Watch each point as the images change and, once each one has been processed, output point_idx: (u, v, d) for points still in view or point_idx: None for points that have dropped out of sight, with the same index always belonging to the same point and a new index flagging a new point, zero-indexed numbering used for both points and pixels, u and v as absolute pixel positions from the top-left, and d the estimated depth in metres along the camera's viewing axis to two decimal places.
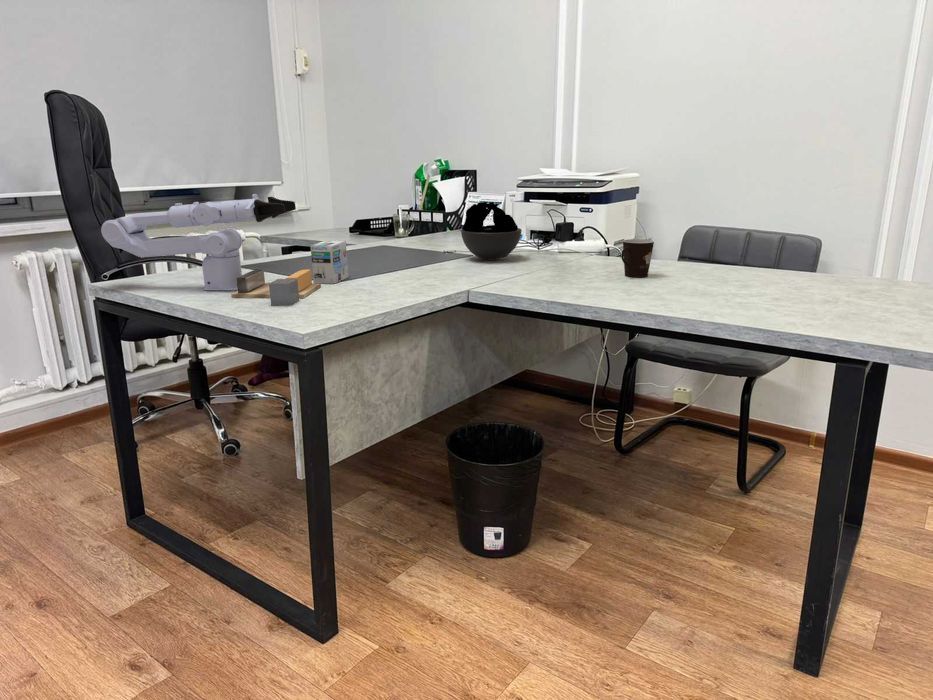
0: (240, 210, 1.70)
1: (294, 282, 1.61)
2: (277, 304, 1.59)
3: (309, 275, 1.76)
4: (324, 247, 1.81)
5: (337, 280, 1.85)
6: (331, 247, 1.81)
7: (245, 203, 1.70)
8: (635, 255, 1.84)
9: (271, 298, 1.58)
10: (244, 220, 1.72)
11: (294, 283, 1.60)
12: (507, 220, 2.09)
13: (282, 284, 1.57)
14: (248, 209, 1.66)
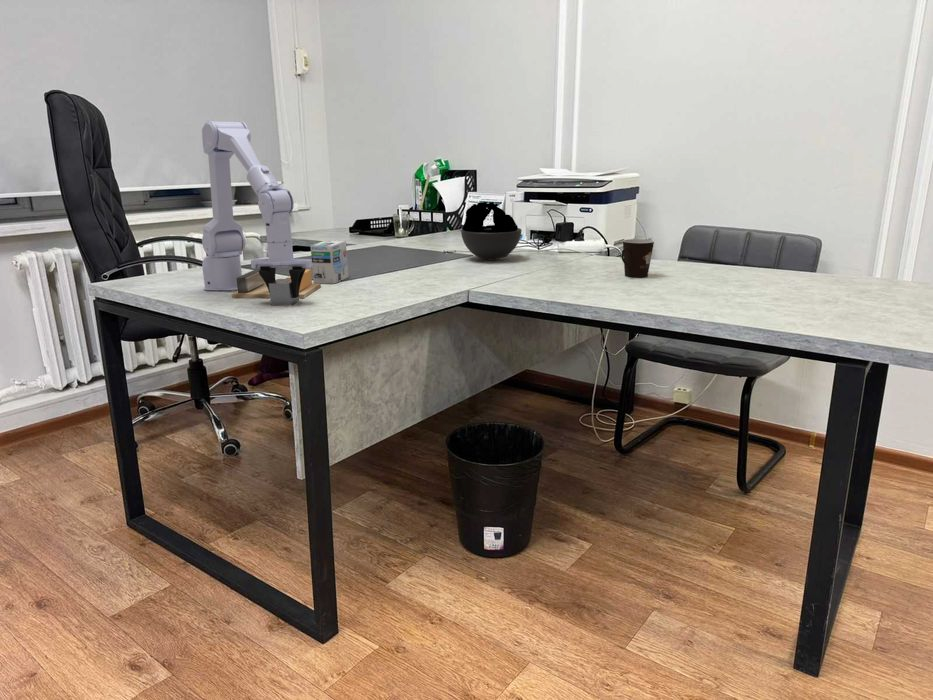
0: None
1: None
2: (277, 304, 1.59)
3: (309, 275, 1.76)
4: (324, 247, 1.81)
5: (337, 280, 1.85)
6: (331, 247, 1.81)
7: (269, 253, 1.56)
8: (635, 255, 1.84)
9: (271, 298, 1.58)
10: None
11: None
12: (507, 220, 2.09)
13: (282, 284, 1.57)
14: None
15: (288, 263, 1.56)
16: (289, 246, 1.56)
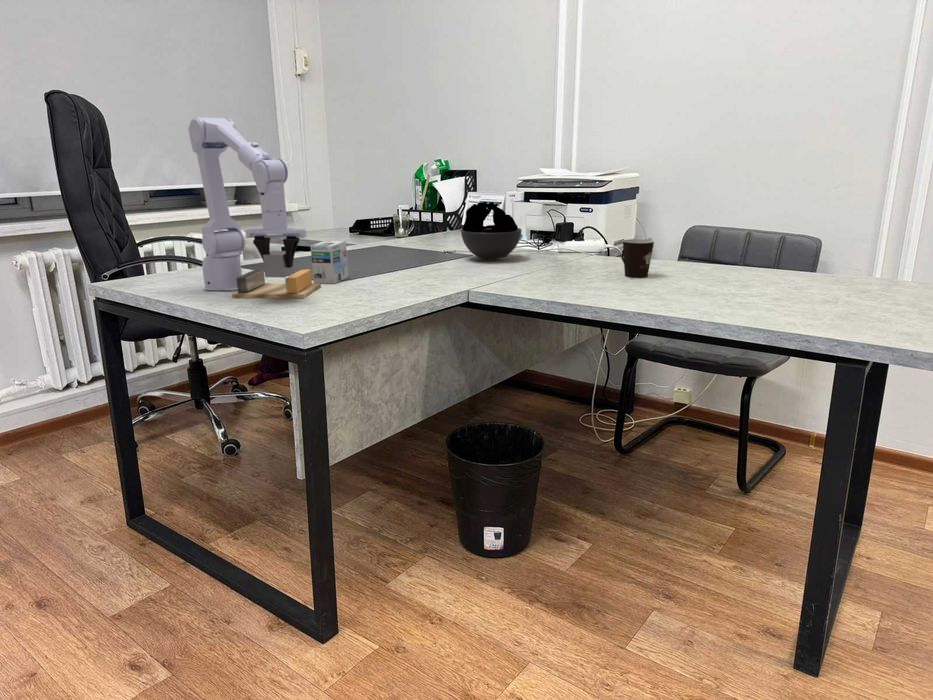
0: None
1: None
2: (271, 275, 1.60)
3: (309, 275, 1.76)
4: (324, 247, 1.81)
5: (337, 280, 1.85)
6: (331, 247, 1.81)
7: (263, 223, 1.58)
8: (635, 255, 1.84)
9: (265, 269, 1.60)
10: None
11: None
12: (507, 220, 2.09)
13: (276, 255, 1.59)
14: None
15: (282, 232, 1.58)
16: (283, 215, 1.58)
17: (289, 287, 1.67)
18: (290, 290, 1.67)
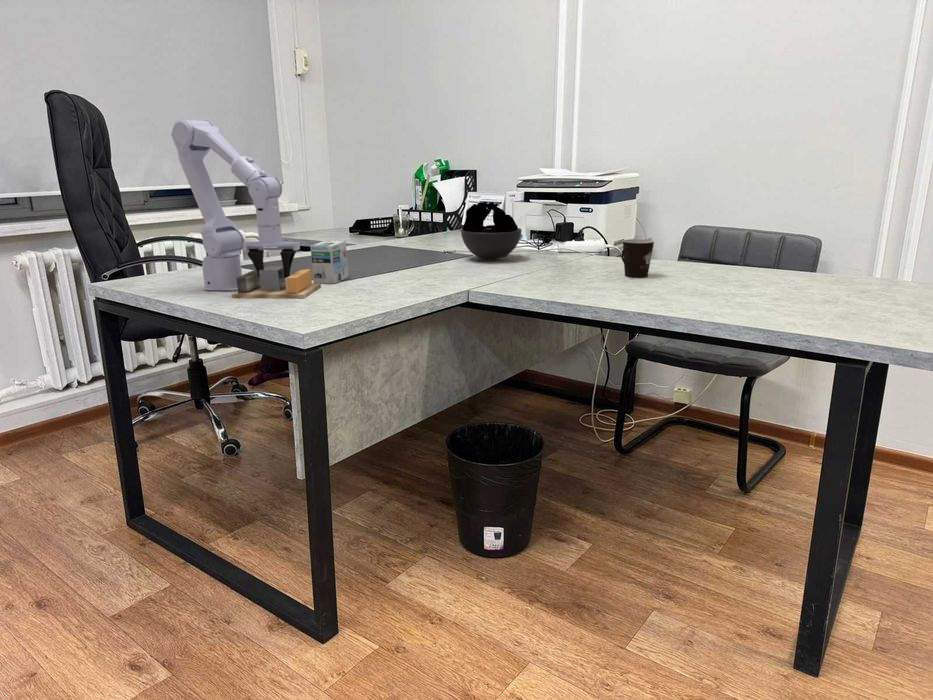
0: None
1: None
2: (267, 289, 1.70)
3: (309, 275, 1.76)
4: (324, 247, 1.81)
5: (337, 280, 1.85)
6: (331, 247, 1.81)
7: (259, 236, 1.68)
8: (635, 255, 1.84)
9: (261, 284, 1.70)
10: None
11: (282, 270, 1.72)
12: (507, 220, 2.09)
13: (271, 271, 1.69)
14: None
15: (277, 245, 1.68)
16: (278, 229, 1.68)
17: (289, 287, 1.67)
18: (290, 290, 1.67)
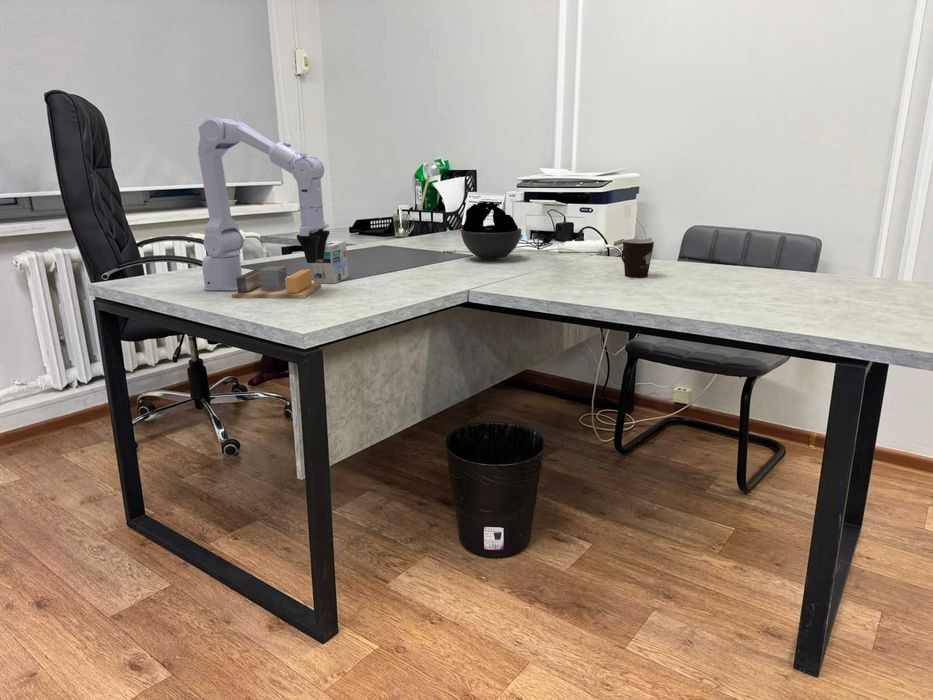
0: (309, 213, 1.64)
1: (283, 269, 1.72)
2: (267, 289, 1.70)
3: (309, 275, 1.76)
4: None
5: (337, 280, 1.85)
6: (331, 247, 1.81)
7: (317, 218, 1.65)
8: (635, 255, 1.84)
9: (261, 284, 1.70)
10: (300, 213, 1.65)
11: (282, 270, 1.72)
12: (507, 220, 2.09)
13: (271, 271, 1.69)
14: (306, 232, 1.61)
15: None
16: None
17: (289, 287, 1.67)
18: (290, 290, 1.67)
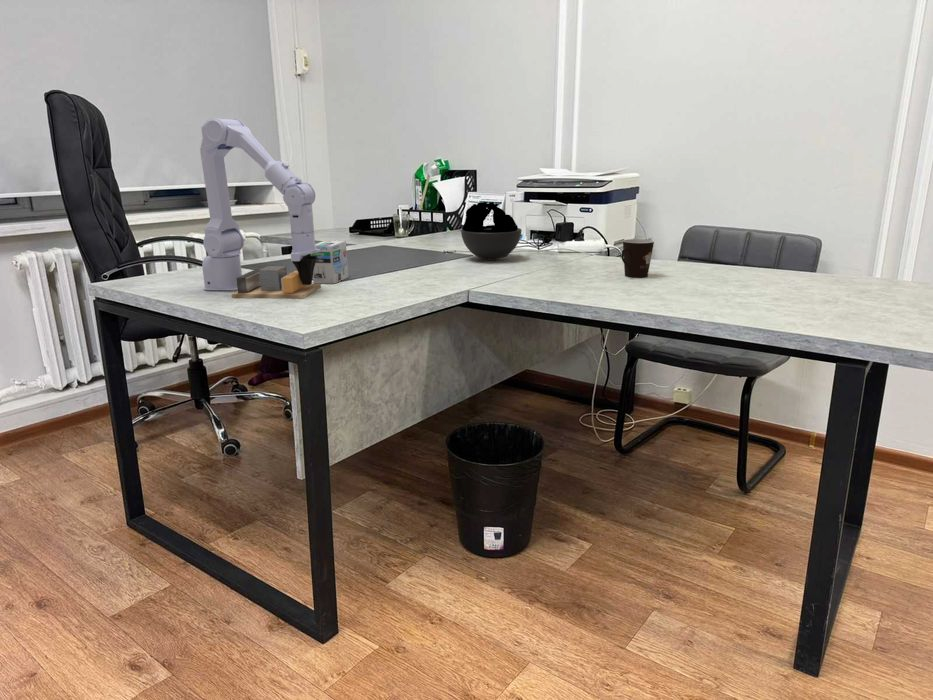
0: (300, 238, 1.66)
1: (283, 269, 1.72)
2: (267, 289, 1.70)
3: None
4: (324, 247, 1.81)
5: (337, 280, 1.85)
6: (331, 247, 1.81)
7: (308, 243, 1.67)
8: (635, 255, 1.84)
9: (261, 284, 1.70)
10: (292, 238, 1.67)
11: (282, 270, 1.72)
12: (507, 220, 2.09)
13: (271, 271, 1.69)
14: (297, 258, 1.63)
15: None
16: None
17: (285, 287, 1.67)
18: (286, 290, 1.67)
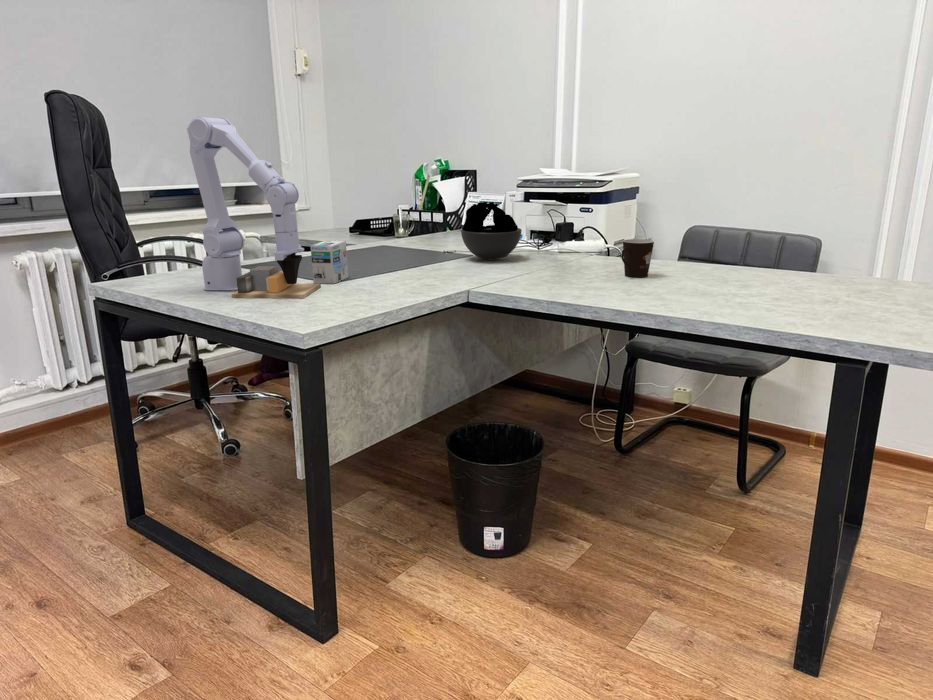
0: (284, 238, 1.66)
1: (273, 269, 1.72)
2: (257, 289, 1.70)
3: None
4: (324, 247, 1.81)
5: (337, 280, 1.85)
6: (331, 247, 1.81)
7: (292, 242, 1.67)
8: (635, 255, 1.84)
9: (252, 284, 1.70)
10: (275, 237, 1.68)
11: (273, 270, 1.72)
12: (507, 220, 2.09)
13: (262, 271, 1.69)
14: (281, 257, 1.63)
15: None
16: None
17: (270, 287, 1.67)
18: (271, 290, 1.67)
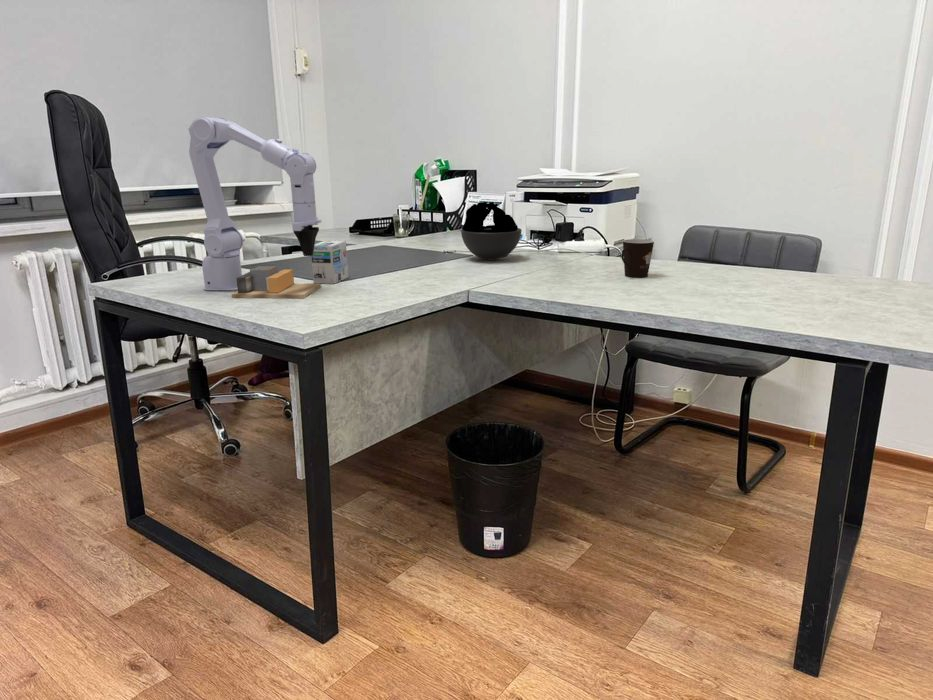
0: (302, 208, 1.66)
1: (273, 269, 1.72)
2: (257, 289, 1.70)
3: (291, 275, 1.77)
4: (324, 247, 1.81)
5: (337, 280, 1.85)
6: (331, 247, 1.81)
7: (310, 213, 1.67)
8: (635, 255, 1.84)
9: (252, 284, 1.70)
10: (293, 208, 1.67)
11: (273, 270, 1.72)
12: (507, 220, 2.09)
13: (262, 271, 1.69)
14: (299, 227, 1.63)
15: None
16: None
17: (270, 287, 1.67)
18: (271, 290, 1.67)
